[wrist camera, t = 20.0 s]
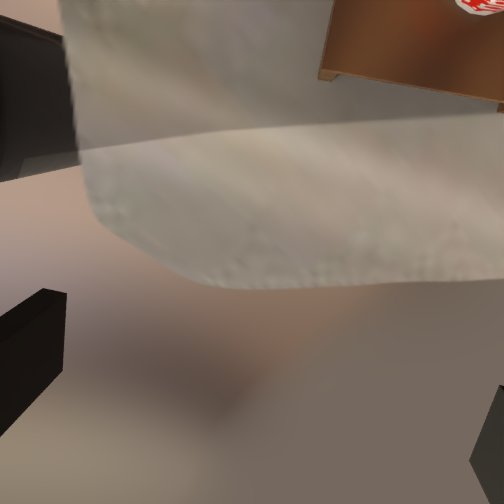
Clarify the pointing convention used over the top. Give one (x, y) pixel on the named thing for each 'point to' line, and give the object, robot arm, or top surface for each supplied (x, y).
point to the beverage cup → (481, 6)
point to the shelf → (417, 46)
